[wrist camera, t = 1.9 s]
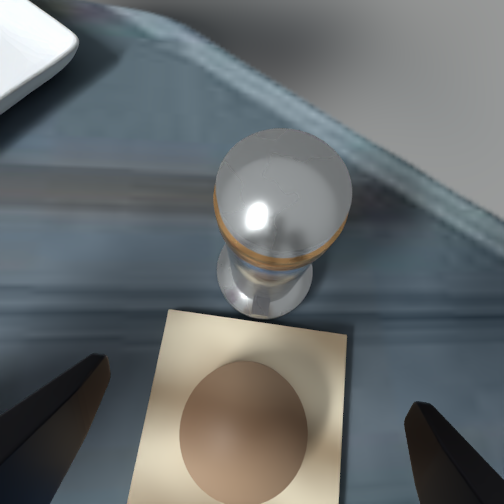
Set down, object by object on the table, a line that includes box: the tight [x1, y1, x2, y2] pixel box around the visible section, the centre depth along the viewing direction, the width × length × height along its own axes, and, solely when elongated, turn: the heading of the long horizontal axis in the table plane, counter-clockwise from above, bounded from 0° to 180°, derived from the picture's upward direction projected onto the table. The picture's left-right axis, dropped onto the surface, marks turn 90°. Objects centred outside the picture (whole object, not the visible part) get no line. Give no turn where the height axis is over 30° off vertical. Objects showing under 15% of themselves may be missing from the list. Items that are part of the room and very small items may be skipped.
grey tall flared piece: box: [213, 128, 352, 320], centre depth 17 cm, size 7×6×13 cm
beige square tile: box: [127, 309, 347, 504], centre depth 19 cm, size 12×12×3 cm
